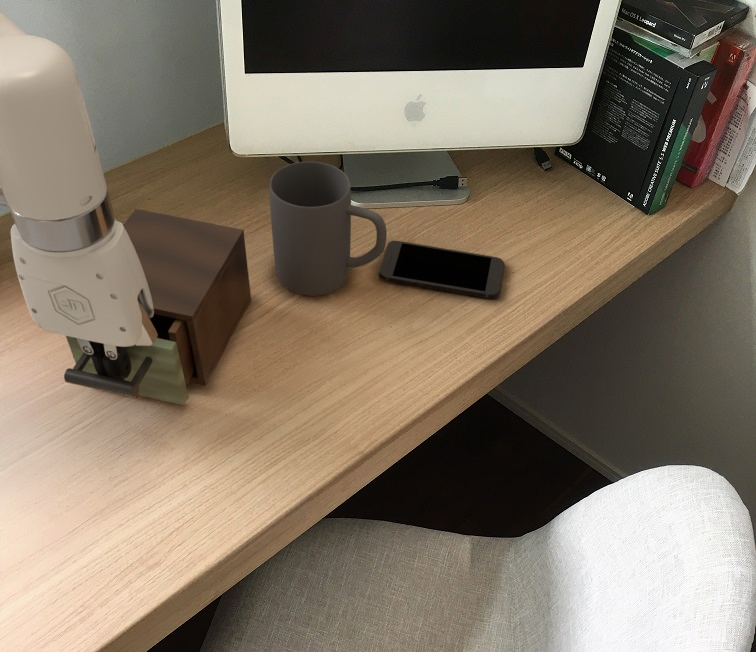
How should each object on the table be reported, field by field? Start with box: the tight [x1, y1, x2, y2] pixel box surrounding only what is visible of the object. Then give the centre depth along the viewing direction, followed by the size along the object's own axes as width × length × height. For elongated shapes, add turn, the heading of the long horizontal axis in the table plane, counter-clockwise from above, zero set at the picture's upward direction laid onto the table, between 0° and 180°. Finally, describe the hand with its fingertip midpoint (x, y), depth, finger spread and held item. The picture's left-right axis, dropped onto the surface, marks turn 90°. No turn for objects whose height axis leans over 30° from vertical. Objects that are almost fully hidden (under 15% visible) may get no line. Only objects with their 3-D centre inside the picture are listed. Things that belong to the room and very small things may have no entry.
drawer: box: [63, 314, 196, 406], centre depth 81 cm, size 18×11×8 cm, turn 166°
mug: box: [269, 161, 388, 297], centre depth 91 cm, size 14×9×12 cm
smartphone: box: [378, 240, 506, 299], centre depth 97 cm, size 7×15×1 cm, turn 79°
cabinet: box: [122, 208, 252, 386], centre depth 85 cm, size 15×13×10 cm
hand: (116, 377), depth 77 cm, fingers closed
